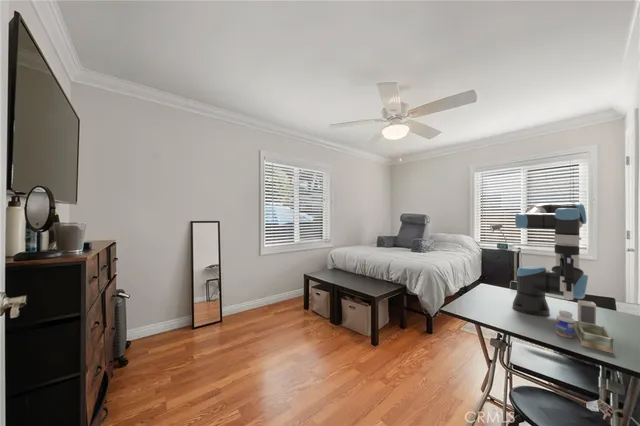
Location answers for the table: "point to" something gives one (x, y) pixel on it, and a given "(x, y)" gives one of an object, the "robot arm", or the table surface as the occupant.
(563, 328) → the pill bottle
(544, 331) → the table surface
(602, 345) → the tray
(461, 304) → the table surface
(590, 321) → the white upright block
